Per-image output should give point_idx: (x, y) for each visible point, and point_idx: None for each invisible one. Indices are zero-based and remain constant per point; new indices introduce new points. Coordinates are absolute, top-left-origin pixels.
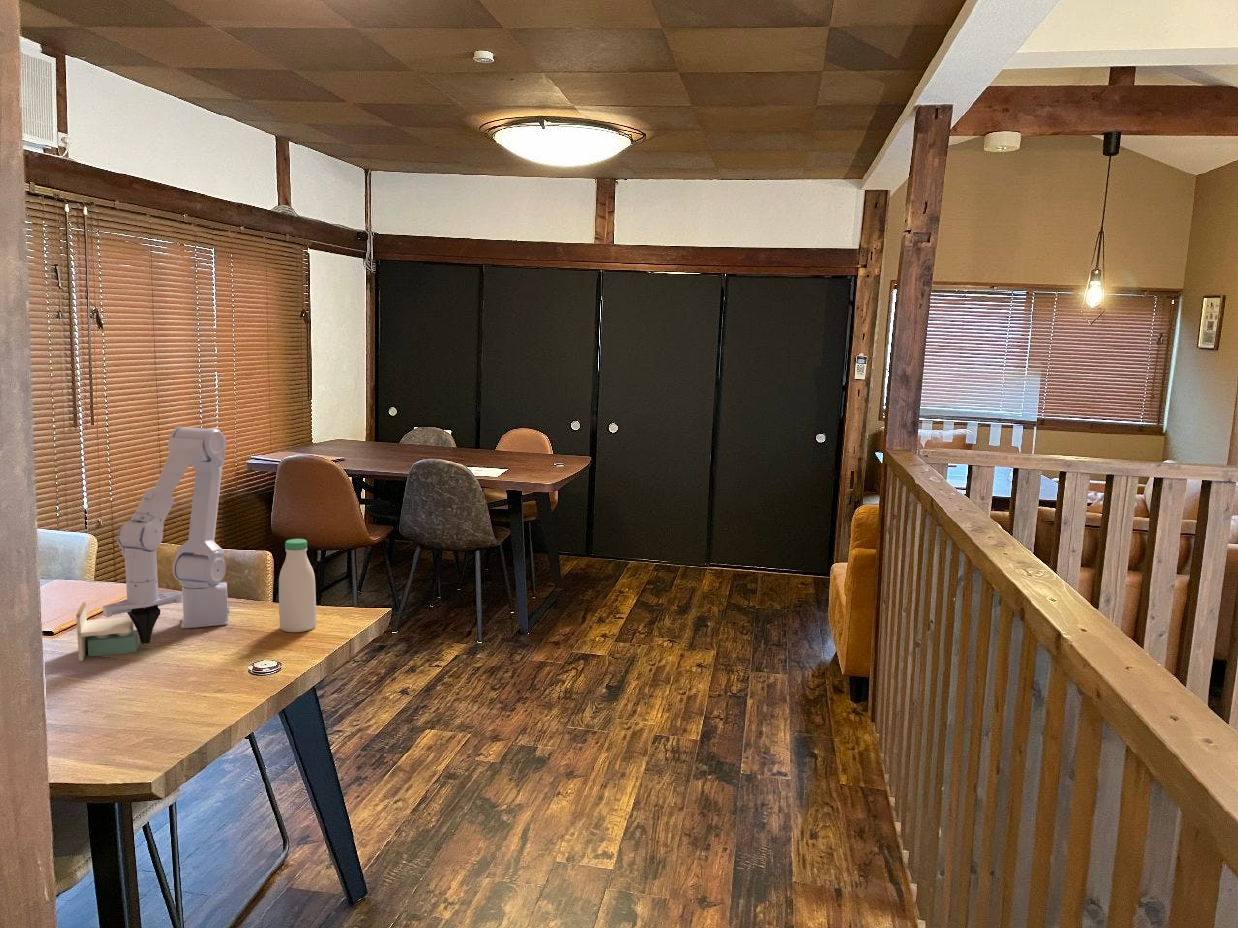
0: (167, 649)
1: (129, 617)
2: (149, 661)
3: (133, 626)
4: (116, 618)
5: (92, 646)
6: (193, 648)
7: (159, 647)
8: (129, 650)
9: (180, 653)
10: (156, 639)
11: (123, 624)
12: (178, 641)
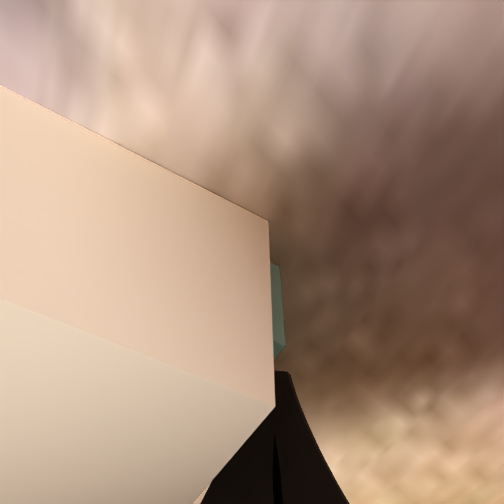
0: (342, 433)
1: (215, 415)
2: (201, 493)
3: (268, 309)
4: (42, 341)
5: None
6: (430, 486)
7: (333, 389)
8: None
9: (349, 497)
10: (416, 257)
11: None
12: (467, 376)
